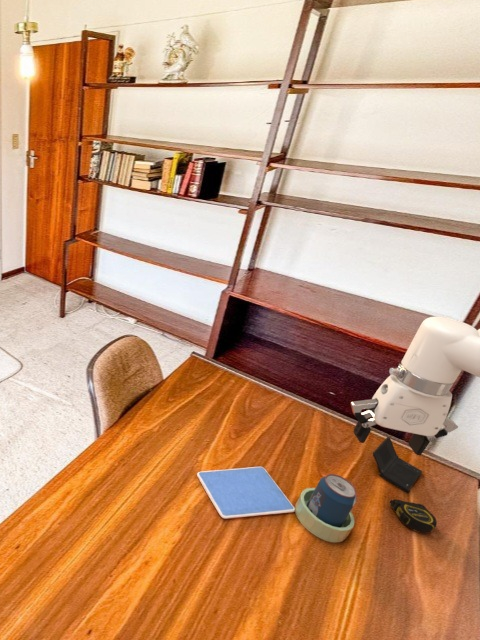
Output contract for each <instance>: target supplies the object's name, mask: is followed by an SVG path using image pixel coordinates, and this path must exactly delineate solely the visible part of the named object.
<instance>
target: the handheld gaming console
mask: <svg viewBox="0 0 480 640" xmlns="http://www.w3.org/2000/svg"><path fill="white" fill-rule="evenodd" d="M372 455H373V458H374V461H375V463H376V466H377V468H378V471H379V477H381V478H382V479H384V480H385V481H387V482H389V483H391V484H392V485H393V486H395V487H397V488H399V489H400V490H402V491H403V492H405V493H408V492H409V491H410V490H411V488H412V487H413V485H414V484H415V483H416V482H417V480H418V479H419V477H420V476H421V474H422V473H423V471H422V470H421V469H419V468H418V467H417V466H415V465H413V464H411V463H409V462H408V461H406V460H404V459H402V458H400V457H399V455H398V454H397V452H396V449H395V446H394V445H393V442H392V438H391V437H390V436H387V437H385V438H384V440H383V441H382V442H381V443H380V444H379V445H378V447H377V448H376V449H374V451H373V452H372Z"/></svg>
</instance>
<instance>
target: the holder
mask: <svg viewBox="0 0 480 640" xmlns="http://www.w3.org/2000/svg"><path fill="white" fill-rule="evenodd" d="M315 489H316V487H306V488H304V489H303V490H302V491H301V493H300V495H299V497H298V498H297V500H296V503H295V505H294V508H295V511H294V512H295V513H294V514H295V516H296V518H297V520H298V521H299V522H300V524H301V525H302V526H303V527H304V528H305V529H306V530H307V531H308V532H309V533H310V534H312V535H314V536H315V537H316V538H319V539H321V540H323V541H326V542H329V543H336V544H337V543H341V542H343V541H345V540H346V539H347V538H348V536H349V534H350V533H351V531H352V530H353V528H354V526H355V516H354V515H353V512H352V510H351V511H350V513H349V514H348V516H347V518H346V519H345V521H344V522H343V524H342V526H341V527H340V528H339V527H334V526H331V525H329V524H327V523H324V522H323V521H321V520H320V519H318V518H317V517H316V516H315V515H314V514H313V513H311V511H310V510H309V509H308V507H307V506H306V505H307V503H308V501H309V500H310V498H311V496H312V494H313V492H314V490H315Z"/></svg>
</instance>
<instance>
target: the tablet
mask: <svg viewBox="0 0 480 640" xmlns="http://www.w3.org/2000/svg"><path fill="white" fill-rule="evenodd" d="M196 476H197V479H198V480H199V482H200V483H201V486H202V487H203V489H204V491H205V493H206V494H207V496H208V498H209V499H210V501H211V503H212V505H213V506H214V508H215V510H216V511H217V513H218V514H219V516H220V518H222V519H223V520H227V519H235V518H236V519H237V518H244V517H245V518H246V517H255V516H265V515H278V514H287V513H294V512H295V505H293V504H292V502H291V501H290V500H289V499H288V497H287V496H286V495H285V494H284V492H283V491H282V489H281V488H280V487H279V485H278V484H277V482H275V481H276V480H274V478H273V477H272V476H271V475H270V474H269V472H268V471H267V470H266V468H264V467H263V466H250V467H240V468H239V467H238V468H228V469H227V468H226V469H217V470H216V469H214V470H205V471H198V472H197V473H196Z"/></svg>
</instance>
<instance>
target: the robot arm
mask: <svg viewBox="0 0 480 640" xmlns="http://www.w3.org/2000/svg"><path fill="white" fill-rule="evenodd" d="M462 371H464V372H466V373H469V374H471V375H473V376H476V377H478V378H480V328H478V329H477V328H475V327H474V326H472V325H471V324H468V323H466V322H464V321H461V320H458V319H455V318H451V317H445V316H437V315H436V316H430V317H427V318H424V320H423V321H422V322H421V324H420V326H419V327H418V329H417V331H416V333H415V335H414V336H413V339H412V341H411V342H410V344H409V346H408V348H407V350H406V352H405V354H404V356H403V358H402V359H401V362H400V363H398V366H397V367H390V368H389V370H388V373H389V374H390V375H389V376H387V377H386V379H385V380H384V381H383V382H382V383H381V385H380V386H379V387H378V389H377V390H376V392H375V393H374V394H373V396H372V397H371V399H364V400H362V399H361V400H354V401H351V402H350V404H349V405H350V407H351V410H352V411H351V412H352V414H353V415H354V417H355V419H356V420H357V422H356V423H355V424H356V425H355V426H354V428H353V434H354V435H355V437H356V439H357V440H358V443H361V444H364V443H365V442H366V440H367V439H368V437H369V435H370V434H371V431H372V429H371V427H373V426H377V425H378V426H380V427H382V428H387V429H390V430H395V431H399V432H405V433H409V434H413V435H412V436H411V437H410V439H409V441H408V443H407V444H408V446H409V447H410V448H411V450H412V451H413V452H414V454H415V455H416V456H422V455H423V453H424V452H425V450H426V449H427V447H428V446H429V444H430V443H433V442H436V441H437V439H439V438H442V437H443V438H444V437H446V436H448V434H449V433H452V432H453V431H455V430H457V429H458V428H459V426H458V425H457V424H456V422H455V421H454V420H452V419H450V418H449V417H448V414H449V411H450V408H451V405H452V399H453V394H452V392H451V391H450V390H451V389H452V387H453V385H454V384H455V382H456V381H457V379H458V377H459V376H460V374H461V372H462ZM362 410H366V411H363V412H362Z"/></svg>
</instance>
